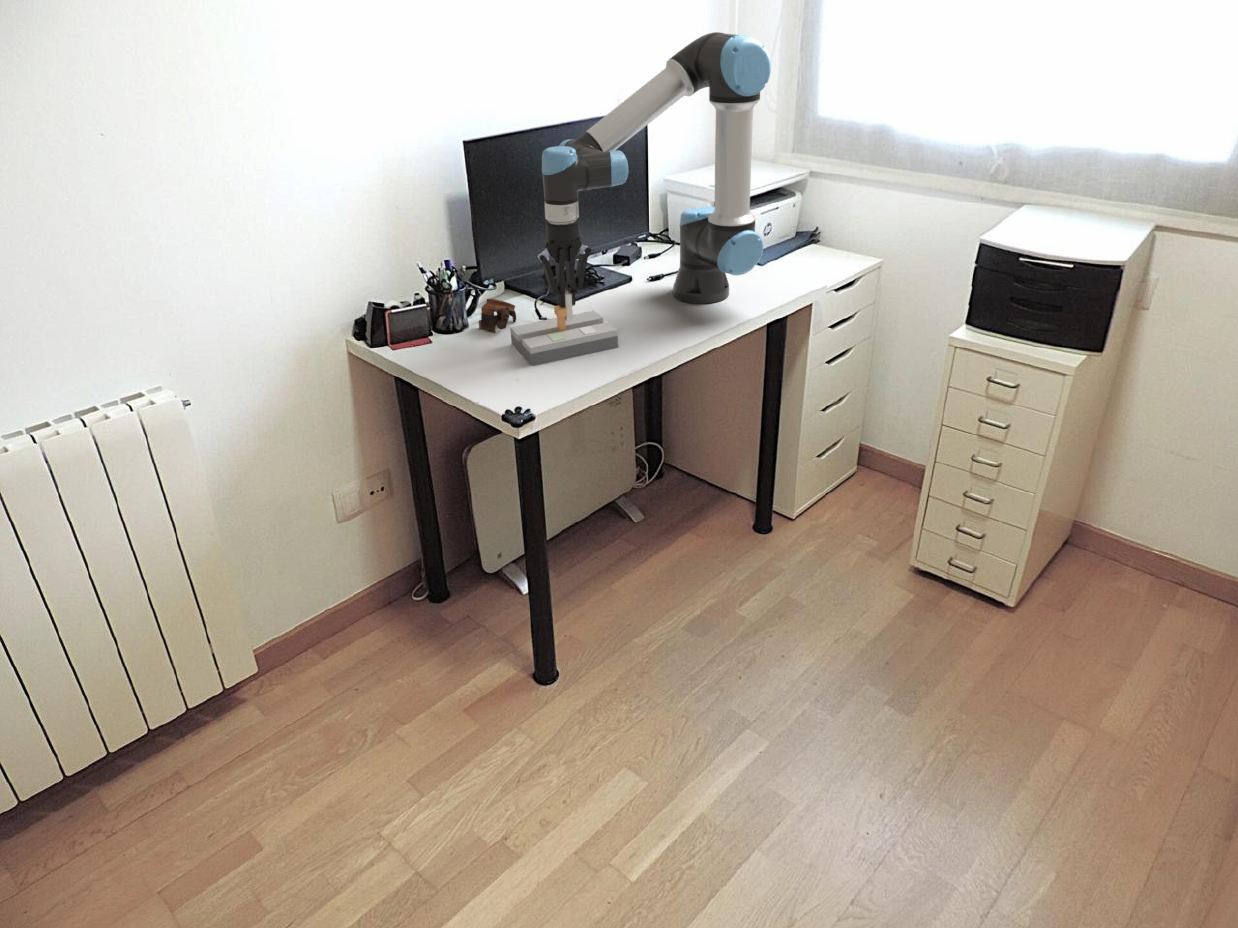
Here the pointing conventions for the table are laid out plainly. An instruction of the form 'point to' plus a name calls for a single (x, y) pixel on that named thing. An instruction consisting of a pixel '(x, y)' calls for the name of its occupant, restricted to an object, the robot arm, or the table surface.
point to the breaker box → (563, 338)
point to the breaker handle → (560, 317)
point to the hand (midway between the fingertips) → (567, 319)
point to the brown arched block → (499, 320)
